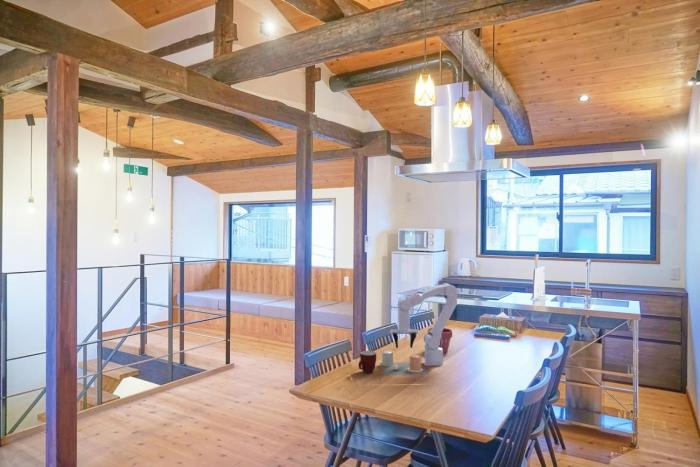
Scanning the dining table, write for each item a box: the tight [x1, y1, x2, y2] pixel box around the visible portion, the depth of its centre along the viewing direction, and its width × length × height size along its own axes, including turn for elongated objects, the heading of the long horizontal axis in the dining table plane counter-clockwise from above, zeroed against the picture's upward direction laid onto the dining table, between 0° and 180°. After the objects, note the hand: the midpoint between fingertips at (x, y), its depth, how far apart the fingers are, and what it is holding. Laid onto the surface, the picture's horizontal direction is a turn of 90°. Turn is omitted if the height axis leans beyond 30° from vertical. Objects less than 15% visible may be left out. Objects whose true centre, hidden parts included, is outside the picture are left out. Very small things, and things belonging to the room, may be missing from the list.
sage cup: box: [381, 350, 394, 366], centre depth 237 cm, size 6×6×6 cm
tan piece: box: [408, 354, 422, 371], centre depth 229 cm, size 6×6×6 cm
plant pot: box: [427, 327, 453, 354], centre depth 266 cm, size 14×14×13 cm
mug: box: [358, 350, 377, 374], centre depth 225 cm, size 11×8×10 cm
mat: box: [379, 362, 430, 376], centre depth 231 cm, size 22×20×1 cm
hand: (404, 347), depth 239 cm, fingers open, 7 cm apart
